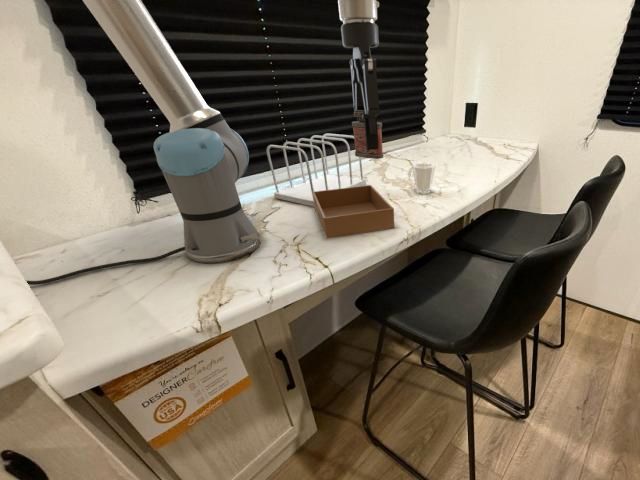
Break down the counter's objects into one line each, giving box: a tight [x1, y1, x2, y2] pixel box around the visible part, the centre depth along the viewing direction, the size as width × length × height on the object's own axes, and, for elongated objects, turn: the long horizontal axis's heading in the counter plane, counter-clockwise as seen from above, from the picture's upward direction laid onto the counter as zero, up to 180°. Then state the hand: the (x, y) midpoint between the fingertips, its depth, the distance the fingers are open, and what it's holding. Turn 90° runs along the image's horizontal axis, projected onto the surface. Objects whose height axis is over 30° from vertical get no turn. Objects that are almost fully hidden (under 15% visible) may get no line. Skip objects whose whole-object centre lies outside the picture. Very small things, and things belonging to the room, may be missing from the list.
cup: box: [408, 162, 436, 195], centre depth 104 cm, size 7×10×8 cm
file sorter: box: [266, 133, 367, 208], centre depth 102 cm, size 25×17×16 cm
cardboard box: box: [312, 184, 395, 239], centre depth 86 cm, size 17×21×5 cm
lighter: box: [351, 110, 384, 160], centre depth 78 cm, size 8×3×10 cm, turn 57°
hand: (368, 146), depth 79 cm, fingers closed on lighter, 7 cm apart
